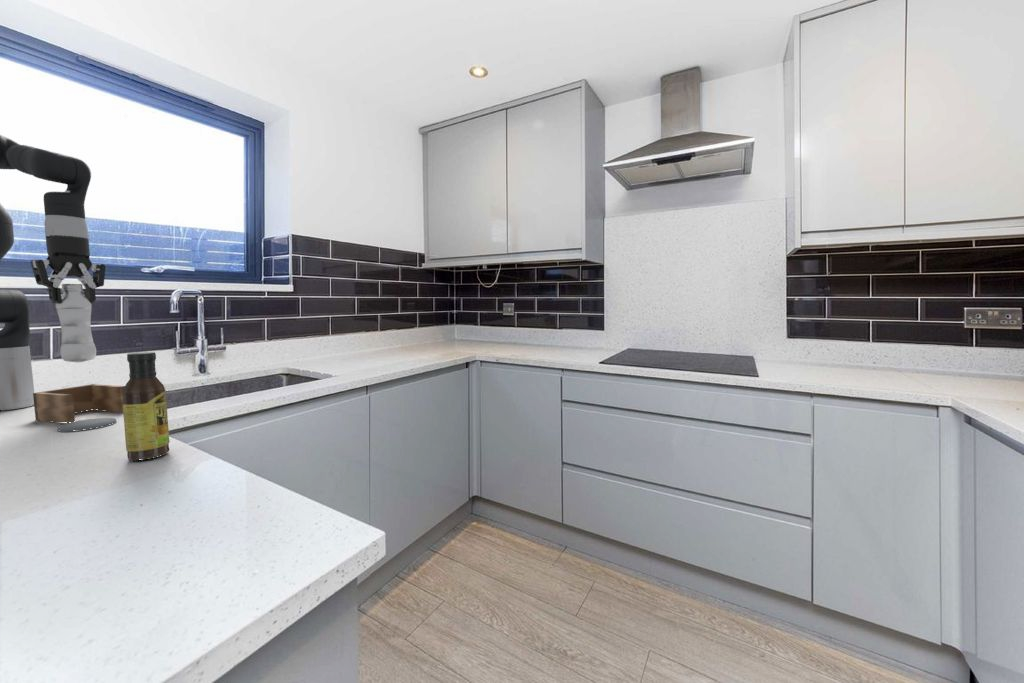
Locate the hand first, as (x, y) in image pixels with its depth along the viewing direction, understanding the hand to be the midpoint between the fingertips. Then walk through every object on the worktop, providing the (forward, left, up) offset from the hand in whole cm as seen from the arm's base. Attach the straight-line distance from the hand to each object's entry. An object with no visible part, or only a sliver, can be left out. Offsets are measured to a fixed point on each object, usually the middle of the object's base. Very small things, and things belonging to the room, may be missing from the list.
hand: (73, 302), depth 108 cm
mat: (+12, -6, -29) cm, 32 cm away
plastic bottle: (0, 0, -15) cm, 15 cm away
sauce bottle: (+49, -17, -30) cm, 60 cm away
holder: (0, 0, -29) cm, 29 cm away
